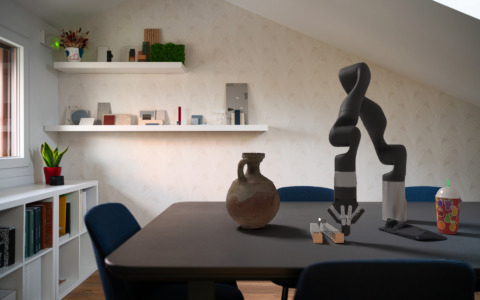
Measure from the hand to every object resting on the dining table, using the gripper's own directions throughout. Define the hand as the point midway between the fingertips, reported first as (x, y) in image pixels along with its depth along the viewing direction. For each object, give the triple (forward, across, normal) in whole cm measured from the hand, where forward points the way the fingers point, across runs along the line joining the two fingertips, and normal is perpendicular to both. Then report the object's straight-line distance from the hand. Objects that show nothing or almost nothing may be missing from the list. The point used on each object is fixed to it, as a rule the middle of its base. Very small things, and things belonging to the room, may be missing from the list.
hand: (345, 235), depth 128 cm
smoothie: (+2, -40, -17) cm, 43 cm away
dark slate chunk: (+2, -26, -14) cm, 29 cm away
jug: (+2, +33, -19) cm, 38 cm away
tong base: (+2, +8, -7) cm, 11 cm away
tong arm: (+1, +4, -6) cm, 7 cm away
